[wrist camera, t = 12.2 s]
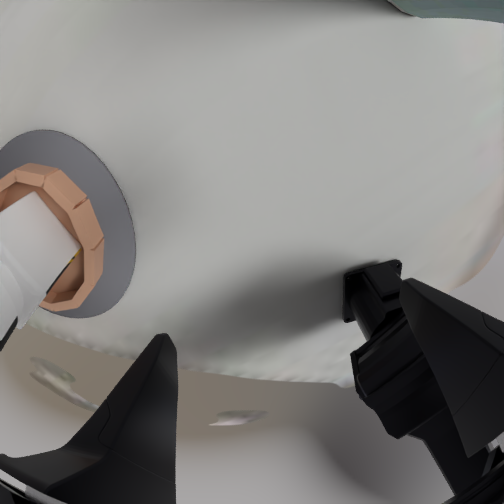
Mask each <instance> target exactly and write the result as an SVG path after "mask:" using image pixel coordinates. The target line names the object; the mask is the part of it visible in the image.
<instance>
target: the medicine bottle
mask: <svg viewBox="0 0 504 504" xmlns="http://www.w3.org/2000/svg"><path fill="white" fill-rule="evenodd" d="M81 249H82V246H81V244H80V243H79V242H78V241H77V240H76V239H75V238H74V237H73V235H72V234H71V233H70V232H69V231H68V230H67V229H66V228H65V226H64V225H63V224H62V223H61V222H60V221H59V219H58V218H57V217H56V216H55V215H54V213H53V212H52V211H51V210H50V209H49V207H48V206H47V205H46V204H45V202H44V201H43V200H42V199H41V197H40V196H39V195H38V193H37V192H36V191H32V192H31V193H29V194H27V195H26V196H24V197H23V198H21V199H19V200H18V201H16V202H15V203H13V204H12V205H10V206H9V207H7V208H6V209H4V210H3V211H1V212H0V351H1V350H2V349H3V347H4V345H5V343H6V342H7V340H8V339H9V337H10V335H11V334H12V332H13V330H14V329H15V327H17V328H18V329H21V328H23V326H24V325H25V323H26V322H27V321H28V319H29V318H30V316H31V315H32V314H33V312H34V311H35V310H36V308H37V307H38V306H39V304H40V303H41V302H42V301H43V299H44V298H45V297H46V295H47V294H48V293H49V291H50V290H51V288H52V287H53V286H54V284H55V283H56V282H57V280H58V279H59V278H60V276H61V275H62V274H63V272H64V271H65V270H66V268H67V267H68V266H69V265H70V263H71V262H72V261H73V260H74V258H75V257H76V256H77V255H78V253H79V252H80V251H81Z"/></svg>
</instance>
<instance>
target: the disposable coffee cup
mask: <svg viewBox="0 0 504 504" xmlns="http://www.w3.org/2000/svg"><path fill="white" fill-rule="evenodd" d="M388 1H389V2H390V3H392V4H393V5H394V6H395V7H397V8H398V9H399V10H400V11H402V12H405V13H407V14H410V15H413V16H418V17H420V18H462V19H475V20H484V21H492V22H499V23H504V0H388Z"/></svg>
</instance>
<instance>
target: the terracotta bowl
mask: <svg viewBox="0 0 504 504" xmlns="http://www.w3.org/2000/svg"><path fill="white" fill-rule="evenodd" d="M32 191H36V192H37V193H38V195H39V196H40V197H41V199H42V200H43V201H44V202H45V204H46V205H47V206H48V207H49V209H50V210H51V211H52V212H53V213H54V215H55V216H56V217H57V218H58V219H59V221H60V222H61V223H62V224H63V225H64V226H65V228H66V229H67V230H68V231H69V232H70V233H71V234H72V235H73V237H74V238H75V239H76V240H77V241H78V242H79V243H80V244H81V246H82V249H81V251H80V252H79V253H78V255H77V256H76V257H75V258H74V260H73V261H72V262H71V263H70V265H69V266H68V267H67V268H66V270H65V271H64V272H63V274H62V275H61V276H60V278H59V279H58V280H57V282H56V283H55V284H54V286H53V287H52V288H51V290H50V291H49V293H48V294H47V295H46V297H45V298H44V299H43V301H42V302H41V303H40V304H39V306H41V307H43V308H46V309H48V310H51V311H55V312H56V311H62V310H68V309H74V308H78V307H80V305H81V304H82V302H83V301H84V300H85V298H86V297H87V296H88V294H89V293H90V292H91V291H92V289H93V288H94V286H95V285H96V283H97V281H98V280H99V278H100V276H101V275H102V272H103V255H104V238H103V236H104V235H103V232H102V230H101V228H100V225H99V223H98V220H97V218H96V216H95V213H94V210H93V208H92V205H91V203H90V200H89V199H86V197H87V195H86V194H85V193H84V192H83V191H82V190H81V189H80V188H79V187H78V186H77V185H76V184H75V183H74V182H73V181H72V180H71V179H70V178H69V177H68V176H67V175H66V174H65V173H64V172H63V171H62V170H61V169H60V170H58V168H55V167H50V166H45V165H39V164H34V163H28V164H25V165H23V166H21V167H19V168H16V169H14V170H13V171H11V172H10V173H8V174H7V175H6V176H4V177H3V178H2V179H0V212H1V211H3V210H4V209H6V208H7V207H9V206H10V205H12V204H13V203H15V202H16V201H18V200H19V199H21V198H23V197H24V196H26V195H27V194H29V193H31V192H32Z"/></svg>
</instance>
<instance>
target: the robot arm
mask: <svg viewBox="0 0 504 504" xmlns="http://www.w3.org/2000/svg"><path fill="white" fill-rule="evenodd" d="M397 264H398V265H397ZM396 265H397V266H396ZM401 269H402V263H401V262H400V260H394V261H391V262H387V263H383V264H380V265H376V266H372V267H368V268H364V269H360V270H356V271H352V272H348V273H346V274H345V275H344V278H343V320H344V322H345V323H348V322H352V321H355V320H356V321H357V323H358V325H359V327H360V329H361V331H362V333H363V335H364V337H365V339H366V341H367V342H366V343H365V344H363V345H362V346H361V347H360V348H358V349H357V350H354V351H353V352H352V353H350V356H351V363H352V369H353V375H354V381H355V387H356V392H357V393H358V394H359V398H360V399H361V400H363V401H364V402H365V404H366V405H367V406H368V407H370V408H371V409H373V410H374V411H375V412H376V413H377V415H378V416H379V418H380V420H381V422H382V424H383V426H384V427H385V429H386V431H387V433H388V434H389V435H391V436H393V437H395V438H396V439H400V438H402V437H403V436H405V435H408V436H411V437H414V438H417V439H420V440H422V441H423V442H424V443H425V445H426V446H427V448H428V450H429V451H430V453H431V455H432V456H433V458H434V460H435V461H436V463H437V465H438V467H439V469H440V470H441V472H442V474H443V476H444V477H445V479H446V481H447V483H448V484H449V486H450V488H451V490H452V492H453V493H454V495H455V496H454V497H452V498H450V499H449V500H447V501H445V502H444V503H442V504H504V322H502V321H500V320H498V319H496V318H494V317H492V316H490V315H488V314H486V313H484V312H481V311H480V310H478V309H476V308H474V307H472V306H470V305H468V304H466V303H464V302H462V301H460V300H458V299H456V298H454V297H452V296H450V295H448V294H446V293H444V292H442V291H439V290H437V289H435V288H433V287H431V286H429V285H427V284H425V283H422V282H420V281H418V280H416V279H414V278H408V279H405V280H402V279H401V278H400V276H401ZM349 277H350V278H349ZM348 278H349V279H348ZM177 401H178V371H177V351H176V347H175V345H174V344H173V342H172V340H171V339H170V337H169V335H168V334H167V333H162V334H157V335H156V336H155V337H154V338H153V339H152V340H151V342H150V343H149V344H148V345H147V347H146V348H145V349H144V350H143V352H142V353H141V354H140V356H139V357H138V358H137V359H136V361H135V362H134V363H133V364H132V366H131V367H130V368H129V370H128V371H127V372H126V373H125V375H124V376H123V377H122V378H121V380H120V381H119V382H118V384H117V385H116V386H115V387H114V389H113V390H112V391H111V393H110V394H109V395H108V396H107V399H105V400H104V402H103V403H102V404H101V406H100V407H99V408H98V409H97V410H96V412H95V413H94V414H93V416H92V417H91V418H90V419H89V420H88V421H87V422H86V423H85V424H84V426H83V427H82V428H81V429H80V430H79V431H78V432H77V433H76V434H75V435H74V436H73V437H72V439H71V440H70V441H69V442H68V443H67V444H65V445H64V446H63V447H61V448H59V449H56V450H53V451H49V452H45V453H40V454H35V455H31V456H26V457H20V458H11V457H8V456H7V455H5V454H0V469H1V470H3V471H4V472H6V473H8V474H9V475H11V476H12V477H14V478H15V479H17V480H19V481H20V482H22V483H24V484H26V491H25V492H24V491H22V490H20V489H19V488H17V487H15V486H13V485H11V484H9V483H7V482H6V481H4V480H2V479H1V478H0V504H176V484H175V458H176V454H175V453H176V421H177V420H176V419H177ZM495 438H496V439H497V441H498V443H499V445H498V446H497V447H495V448H494V447H493V445H492V443H491V441H493V440H494V439H495Z"/></svg>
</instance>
